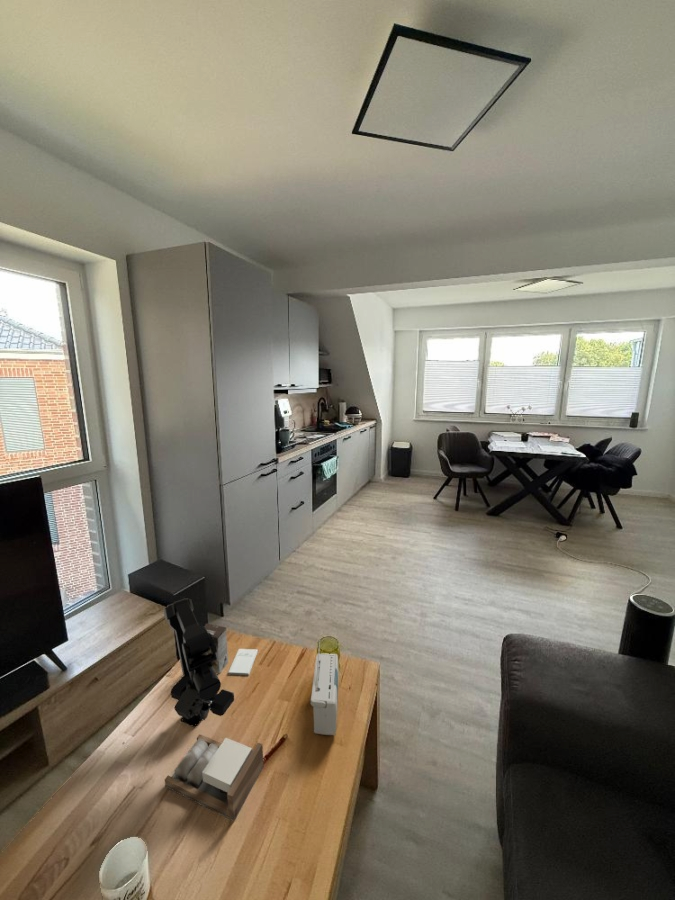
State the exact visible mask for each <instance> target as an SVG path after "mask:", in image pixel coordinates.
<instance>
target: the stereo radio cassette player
mask: <svg viewBox="0 0 675 900" xmlns="http://www.w3.org/2000/svg"><path fill="white" fill-rule="evenodd" d="M320 643H321V639H318V653H317V654H316V655H315V656H316V657H315V664H314V672H313V679H312V688H311V696H310V705H311V706H312V709H313V733H314V734H317V735H325V736H335V735H336V733H337V724H338V723H337V722H338V721H337V720H338V702H339V701H338V698H339V676H340V675H339V669H340V667H339V666H340V665H339V656H338V654H337V653H330V654H329V653H328V652H327V653H326V652H325V653H320V650H321V649H320V647H321V644H320Z"/></svg>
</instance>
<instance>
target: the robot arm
mask: <svg viewBox="0 0 675 900" xmlns="http://www.w3.org/2000/svg"><path fill="white" fill-rule="evenodd" d="M163 614H164V619H165V621H166V622H167V624H168V626H169V627H170V628H171V629H172V630H174V634H175V639H176V645H177V650H178V655H179V660H180V661H179V662H180V666H181V672H182V677H181V678H180V679H178V681H177V682H176V683H174V685H173V686H172V687H171V689H170V697H171V698H172V699H174V700H176V703H175V704H174V708H173V709H174V711H175V712H176V714H177V715H178V716H179V717H181V718H180V722H181V723H185V724H187V725H189V726H192V727H193V728H194V727H195V728H196V727H197V726H198V725H199V723H200V722H201V721H202V720H203V721H205V720H206V719H207V717H208V714H209V713H210V711H211V713H212V714H214V715H216V716H218V717H222V716H224V715H225V713H226V712H227V711H228V709H229V708H230V707H231V706H232V704H233V702H234V701H235V693H234V692H232V691H230V690H227V689H225V688H224V689H221V686H222V682H221V681H220V678H219V676H218V673H216V672H215V670H214V668H213V666H212V662H213V661H215V660H217V657H216V653H217V649H216V645H215V642H214V638H213V636H212V635H211V634H210V633H208V631H207V630H206V628H205V627H204V626H205V625H200V624H199V623H198V620H197V618H196V616H195V614H194V606H193V602H192V599H190V598H182V599H179V600H177V601H174V602H173V603H170V604H167V606H166V607H164V609H163ZM210 648H211V652H212V654H207V652H208V651H210Z"/></svg>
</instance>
